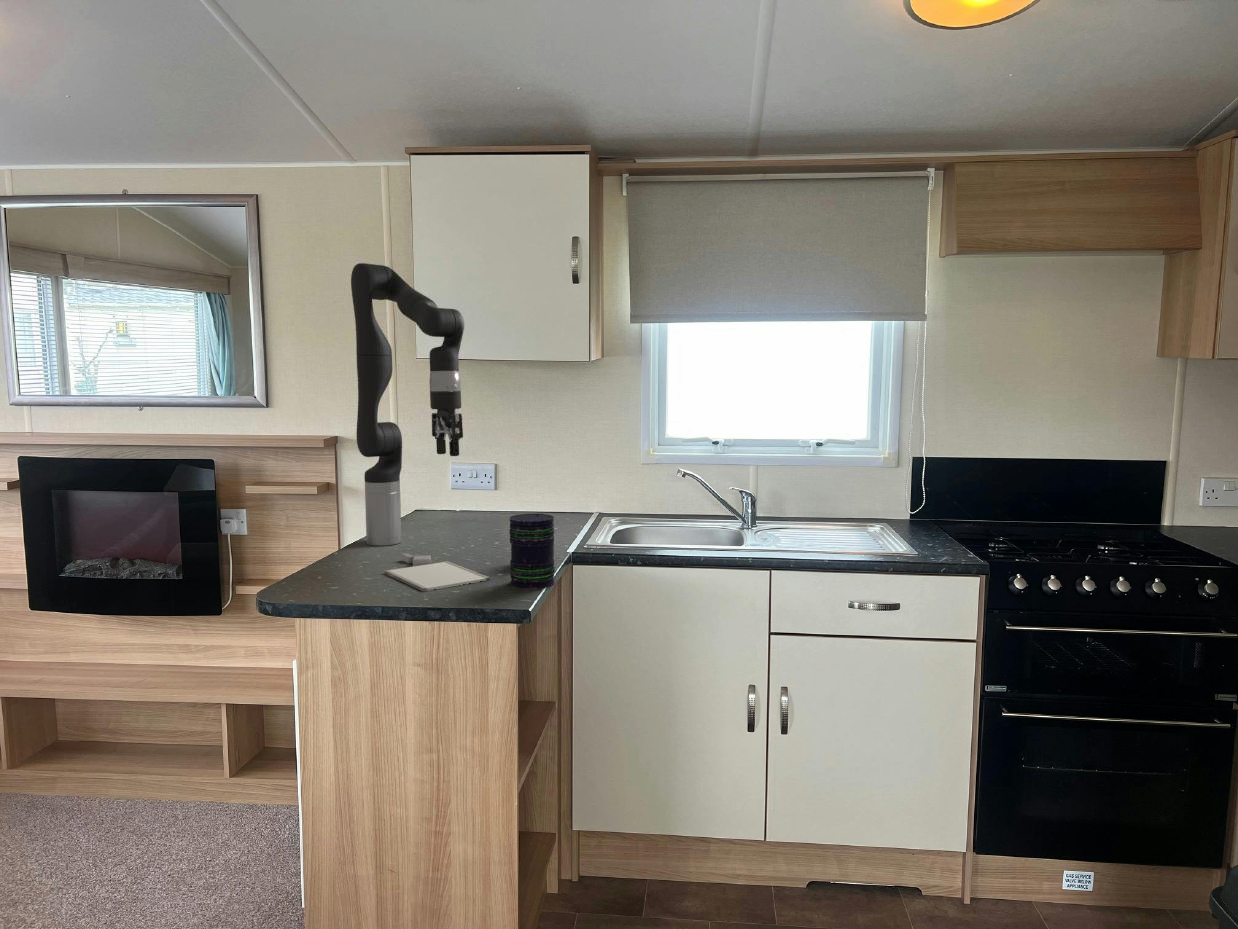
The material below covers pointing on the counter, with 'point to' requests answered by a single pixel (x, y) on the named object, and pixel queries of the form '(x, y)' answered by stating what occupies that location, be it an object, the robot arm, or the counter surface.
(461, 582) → the mat
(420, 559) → the lighter
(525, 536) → the storage jar
